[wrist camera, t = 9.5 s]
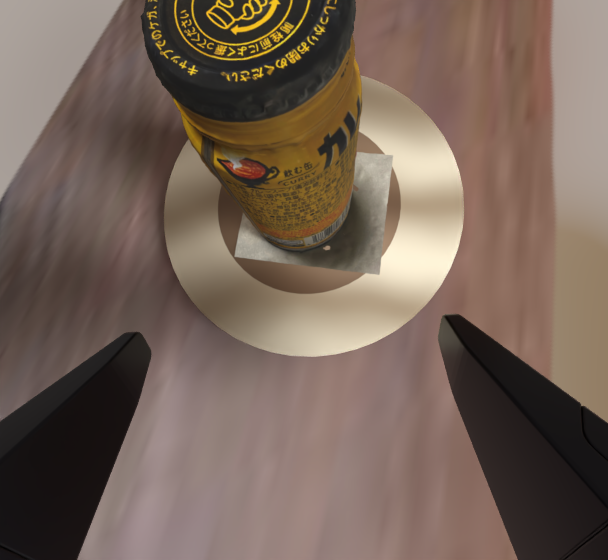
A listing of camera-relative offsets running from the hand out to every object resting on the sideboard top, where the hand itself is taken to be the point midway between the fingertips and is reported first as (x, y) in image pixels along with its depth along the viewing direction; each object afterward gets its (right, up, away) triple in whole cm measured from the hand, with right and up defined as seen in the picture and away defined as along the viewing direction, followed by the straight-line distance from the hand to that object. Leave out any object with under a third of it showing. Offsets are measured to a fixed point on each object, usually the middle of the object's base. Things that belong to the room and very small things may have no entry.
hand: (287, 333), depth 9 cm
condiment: (+1, +6, +10) cm, 11 cm away
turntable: (+1, +6, +11) cm, 13 cm away
